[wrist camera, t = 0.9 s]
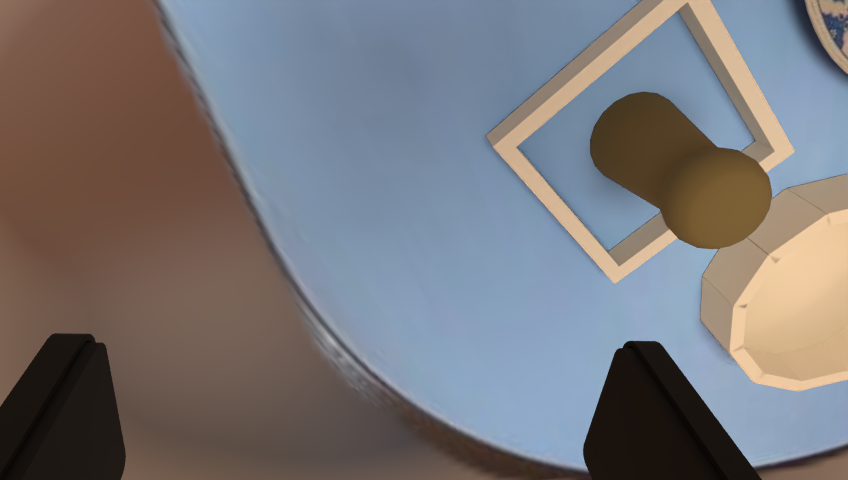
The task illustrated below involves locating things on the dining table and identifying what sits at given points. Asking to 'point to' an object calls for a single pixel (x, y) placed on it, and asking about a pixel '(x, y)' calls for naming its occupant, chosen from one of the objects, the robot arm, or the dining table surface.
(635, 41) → the beige square frame
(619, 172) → the brown rounded piece
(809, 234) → the bowl
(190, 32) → the dining table surface
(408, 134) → the dining table surface
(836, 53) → the ceramic plate
